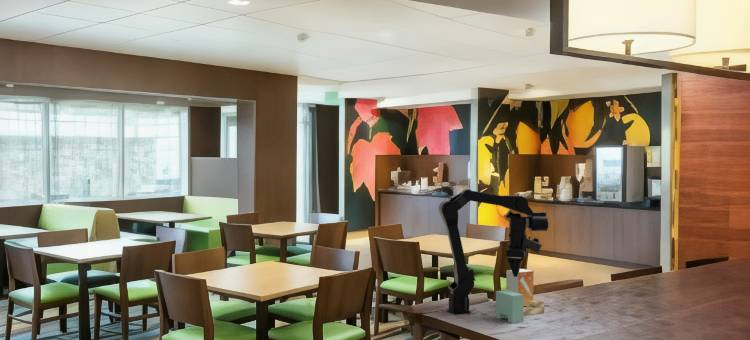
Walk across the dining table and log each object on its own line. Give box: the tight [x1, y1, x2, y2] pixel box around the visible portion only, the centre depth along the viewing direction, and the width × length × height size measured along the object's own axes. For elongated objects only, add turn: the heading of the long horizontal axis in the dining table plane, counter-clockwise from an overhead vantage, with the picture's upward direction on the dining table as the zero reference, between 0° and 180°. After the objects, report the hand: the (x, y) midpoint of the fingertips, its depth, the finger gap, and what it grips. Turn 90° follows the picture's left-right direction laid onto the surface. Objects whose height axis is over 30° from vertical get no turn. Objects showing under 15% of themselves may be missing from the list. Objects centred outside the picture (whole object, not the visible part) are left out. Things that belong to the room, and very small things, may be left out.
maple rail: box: [523, 299, 545, 316], centre depth 227 cm, size 14×3×4 cm, turn 116°
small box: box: [505, 268, 534, 307], centre depth 241 cm, size 8×6×13 cm
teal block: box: [495, 289, 524, 324], centre depth 218 cm, size 4×9×9 cm, turn 26°
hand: (516, 274), depth 230 cm, fingers open, 9 cm apart
